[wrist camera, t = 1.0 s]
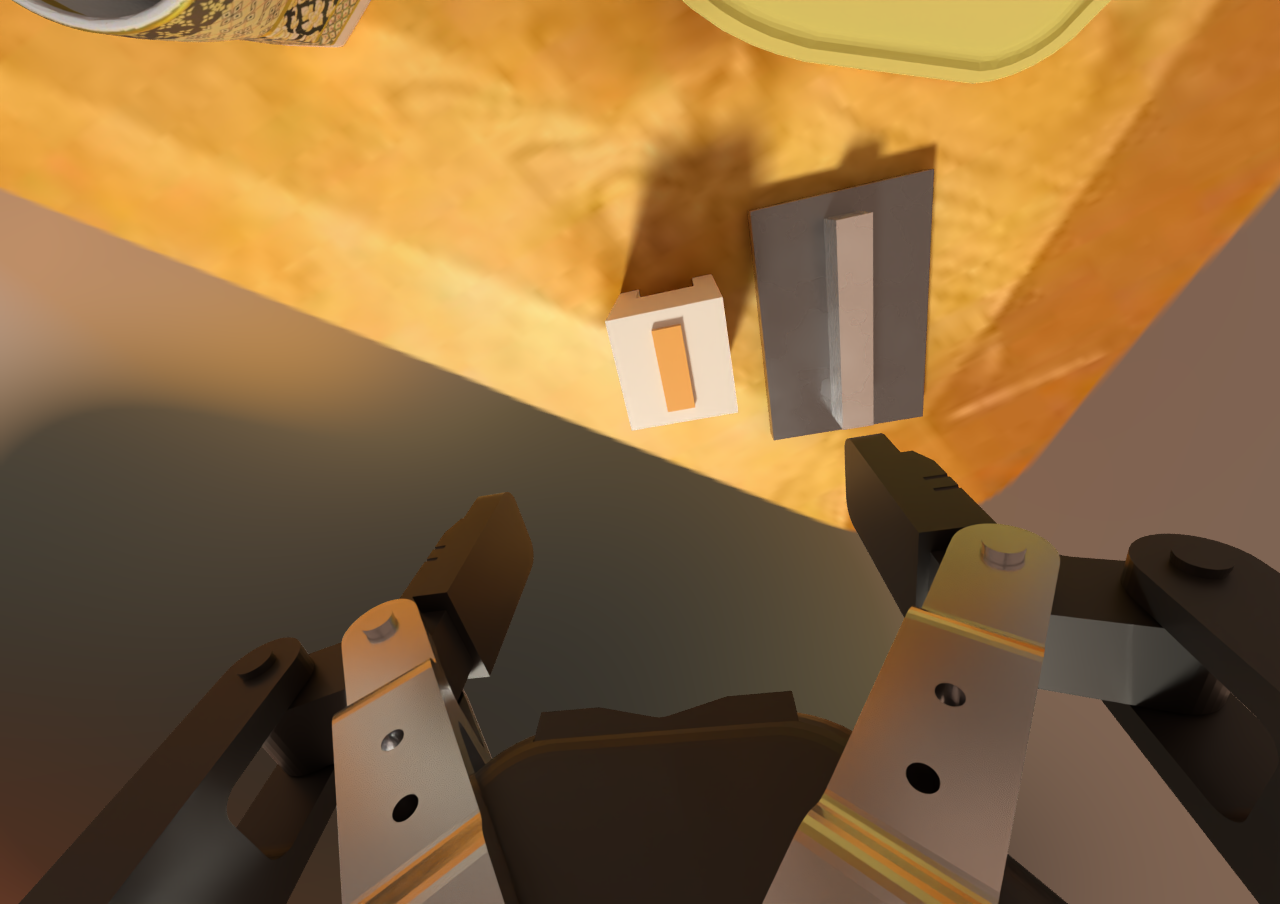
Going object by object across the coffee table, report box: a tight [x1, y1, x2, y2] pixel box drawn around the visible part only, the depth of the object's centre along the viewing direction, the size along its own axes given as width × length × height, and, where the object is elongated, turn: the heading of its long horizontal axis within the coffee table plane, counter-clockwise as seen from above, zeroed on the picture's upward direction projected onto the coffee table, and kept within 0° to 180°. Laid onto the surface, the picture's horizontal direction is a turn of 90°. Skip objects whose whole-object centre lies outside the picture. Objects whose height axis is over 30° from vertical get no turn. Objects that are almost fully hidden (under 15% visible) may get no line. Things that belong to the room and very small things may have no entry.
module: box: [605, 274, 738, 430], centre depth 24 cm, size 5×5×7 cm
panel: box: [747, 169, 934, 440], centre depth 24 cm, size 12×8×3 cm, turn 12°
